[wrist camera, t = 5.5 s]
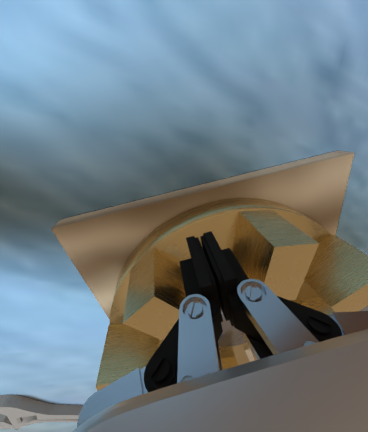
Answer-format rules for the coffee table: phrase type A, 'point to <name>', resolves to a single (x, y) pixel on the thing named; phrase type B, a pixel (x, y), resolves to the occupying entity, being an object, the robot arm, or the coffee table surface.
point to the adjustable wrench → (33, 412)
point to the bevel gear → (251, 264)
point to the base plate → (193, 197)
